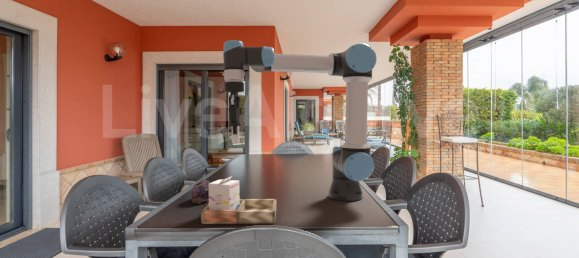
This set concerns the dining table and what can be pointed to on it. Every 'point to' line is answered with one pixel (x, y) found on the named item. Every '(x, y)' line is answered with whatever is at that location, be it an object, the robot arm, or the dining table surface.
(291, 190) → the dining table surface
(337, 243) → the dining table surface
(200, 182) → the rock
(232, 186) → the ink box
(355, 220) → the dining table surface
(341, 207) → the dining table surface
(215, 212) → the divided tray
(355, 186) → the robot arm
